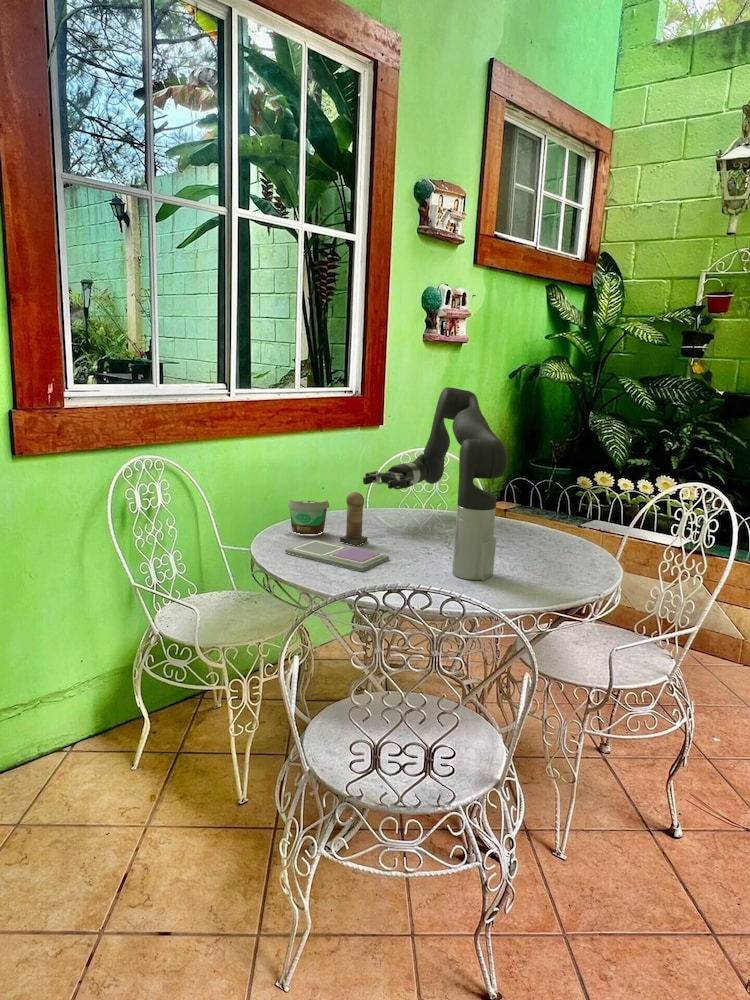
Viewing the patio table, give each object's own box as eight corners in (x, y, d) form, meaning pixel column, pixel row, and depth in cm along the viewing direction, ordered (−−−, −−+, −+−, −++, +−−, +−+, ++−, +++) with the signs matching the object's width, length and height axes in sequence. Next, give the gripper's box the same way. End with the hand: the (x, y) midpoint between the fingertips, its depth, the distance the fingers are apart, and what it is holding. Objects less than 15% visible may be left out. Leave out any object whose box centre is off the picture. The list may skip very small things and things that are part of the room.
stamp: (367, 542, 183) (369, 492, 180) (356, 546, 178) (358, 495, 175) (350, 538, 186) (352, 489, 183) (339, 542, 181) (341, 492, 178)
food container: (284, 536, 185) (285, 502, 182) (286, 531, 191) (287, 498, 188) (327, 538, 185) (328, 504, 183) (328, 532, 191) (329, 499, 189)
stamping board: (389, 559, 168) (389, 552, 167) (362, 571, 157) (362, 564, 156) (315, 542, 180) (315, 536, 179) (285, 553, 169) (285, 546, 168)
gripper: (384, 460, 204) (356, 467, 191) (424, 466, 197) (398, 473, 184) (383, 484, 206) (355, 491, 193) (423, 490, 199) (397, 499, 185)
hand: (376, 483), depth 188 cm, fingers open, 8 cm apart
